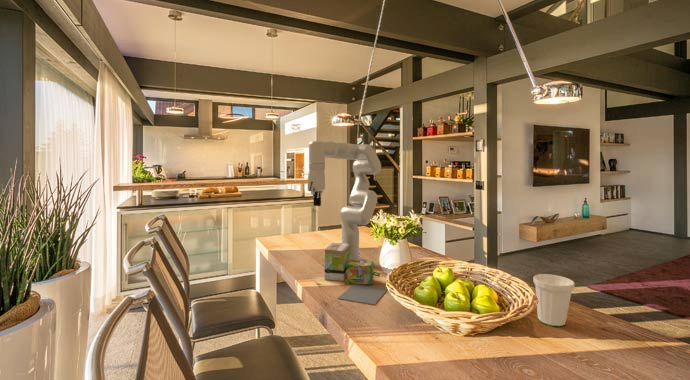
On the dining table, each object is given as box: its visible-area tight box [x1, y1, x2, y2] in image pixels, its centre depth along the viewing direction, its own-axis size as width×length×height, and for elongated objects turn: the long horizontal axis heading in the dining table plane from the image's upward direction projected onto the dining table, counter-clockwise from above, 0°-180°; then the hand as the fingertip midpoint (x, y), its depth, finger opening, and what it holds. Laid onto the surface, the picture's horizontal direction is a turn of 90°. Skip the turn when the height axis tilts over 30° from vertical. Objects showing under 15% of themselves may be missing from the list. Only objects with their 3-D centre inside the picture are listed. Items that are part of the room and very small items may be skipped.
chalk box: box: [346, 259, 381, 286], centre depth 164 cm, size 9×9×15 cm
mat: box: [337, 284, 388, 306], centre depth 150 cm, size 18×16×1 cm
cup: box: [532, 273, 576, 327], centre depth 124 cm, size 12×12×15 cm
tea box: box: [323, 242, 350, 282], centre depth 173 cm, size 15×10×15 cm
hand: (317, 205), depth 169 cm, fingers closed
